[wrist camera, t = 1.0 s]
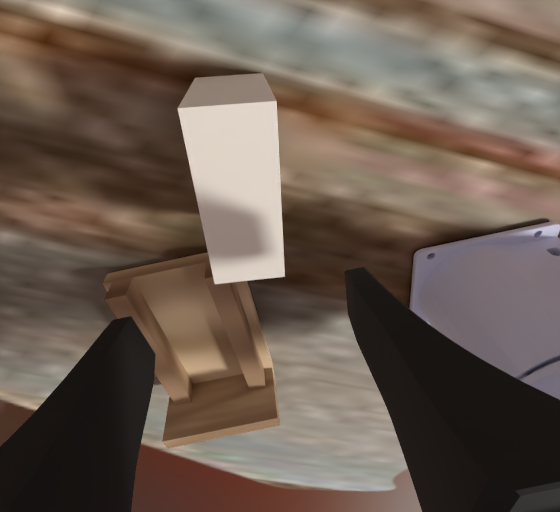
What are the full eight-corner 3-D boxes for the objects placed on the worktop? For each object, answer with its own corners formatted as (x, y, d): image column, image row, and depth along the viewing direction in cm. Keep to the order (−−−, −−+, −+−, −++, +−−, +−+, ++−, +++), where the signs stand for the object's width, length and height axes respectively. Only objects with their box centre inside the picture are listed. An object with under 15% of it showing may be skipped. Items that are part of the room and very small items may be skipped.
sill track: (107, 273, 20) (76, 337, 16) (236, 246, 20) (237, 303, 16) (177, 384, 28) (167, 448, 23) (273, 364, 27) (280, 425, 23)
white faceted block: (262, 72, 15) (276, 100, 10) (271, 210, 19) (284, 276, 14) (189, 77, 15) (169, 109, 10) (214, 216, 19) (208, 285, 14)
